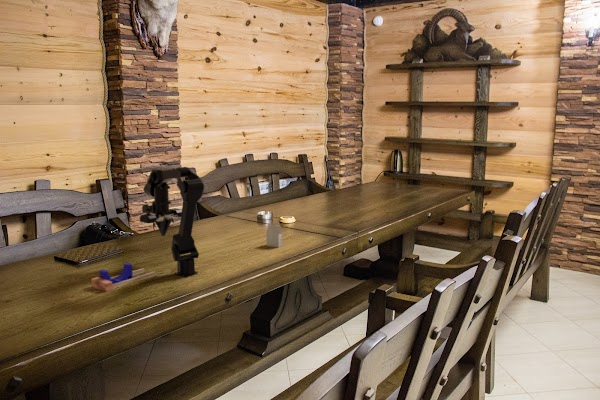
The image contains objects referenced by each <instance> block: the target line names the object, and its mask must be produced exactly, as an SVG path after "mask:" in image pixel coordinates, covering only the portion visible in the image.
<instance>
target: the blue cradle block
mask: <svg viewBox="0 0 600 400" xmlns="http://www.w3.org/2000/svg"><path fill="white" fill-rule="evenodd" d="M132 271H133V264H131V263H130V262H129V263H128V262H125V263H124V264H123V268H122V271H121V273H120V274H118V275H119V276H118V275H117V276H118V277H116V278H113V279H112V278H111V276H110V274H109V271H108V270H105V269H100V270H99V278H102V279H105V280H108V281H111V282H112V284H115V283H118V282H121V281H125V280H128V279H131V278H134V276H132Z"/></svg>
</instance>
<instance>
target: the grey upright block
mask: <svg viewBox="0 0 600 400" xmlns="http://www.w3.org/2000/svg"><path fill="white" fill-rule="evenodd" d="M283 234H284V233H283V230H282V227H281V225H277V224H272V223H271V224H270V223H269V224H267V230H266V234H265V235H266V237H265V238H266V241H265V242H266V247H271V248H273V247H274V248H280V247H284V244H283V243H284V241H283V239H284V238H283V237H284V235H283Z"/></svg>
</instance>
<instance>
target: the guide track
mask: <svg viewBox="0 0 600 400" xmlns="http://www.w3.org/2000/svg"><path fill="white" fill-rule="evenodd" d="M145 272H146V271H145V268H144V267H142V268H140V269H136V270H132V276H133V278H131V279H128V280H125V281H121V282H118V283H115V284H112V282H111V281H108V280H105V279H102V278H100V276H97V277H94V278H91V287H92V288H95V289H97V290H101V291H103V292H110V291H113V290H114V289H117V287H118V288H120V287H121V288H122V287H123V285H124V286H126V285H127V284H128V285H130V283H131V284H133V282H134V283H137V282H140V281H144V280H147V279H150V278H153V277H156V276H157V272H156V271H151V272H148V273H145ZM143 273H144V274H143ZM119 275H120V274H118V275H116V276H112V277H111V276H110V278H112V279H113V278H116V277H118V276H119ZM137 275H138V276H137ZM134 276H135V277H134ZM128 285H127V286H128Z"/></svg>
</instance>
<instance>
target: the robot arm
mask: <svg viewBox="0 0 600 400" xmlns="http://www.w3.org/2000/svg"><path fill="white" fill-rule="evenodd" d="M184 178H186V180H182V179H184ZM172 179H177V180H176V186H177V188H178V190H179V194H180V196H181V199H182V200H183V201H182V208H175V207H174V208H170V205H171V203H172V202H171V201H170V200H169V199H170V198H169V197H170V196H169V189H171V187H170V185H168V182H171V181H172ZM204 189H205V184H204V182H203V180H202V179H201V178H200V176H199V175H197V174H196V173H194V172H193V171H192V170H191V169H190V167H189V166H188V167H187V166H179V167H176V168H171V169H170V168H168V167H163V168H153V169H151V171H150V173H149V177H148V179H147V180H146V183H145V185H144V187H143V192H144V194H145V195H146V196H149V197H152V198H154V200H152V202H151V205H149V204H148V203H147V204H142V207H141V209H142V213H144V214H141V215H140V216H139V222H140V223H145V224H152V223H154V224H155V225H156V226H157V228H158V230H159V233H160V235H161V237H164V236H166V234H167V232H168V229H169V228H170V225H171V223H172V222H173V221H174V218H172V216H177V217H178V218H180V221H179V228H178V233H176V234H175V233H174V234H173V235H172V240H171V246H170V247H171V248H170V249H171V254H172V258H173V260H174V262H176V263H177V271H176V272H175V273H174V275H178V276H180V277H184V278H187V277H190V276H193V275H195V274H199V272H198V271H196V270H195V266H196V265H195V259H199V254H200V253H199V250H198V249H197V247H196V245H195V240H194V239H195V238H193V235H192V232H193V226H194V220H195V216H196V215H195V213H196V207H197V204H198V201H199V200H200V199H201V198H202V196H203V193H204Z"/></svg>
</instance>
